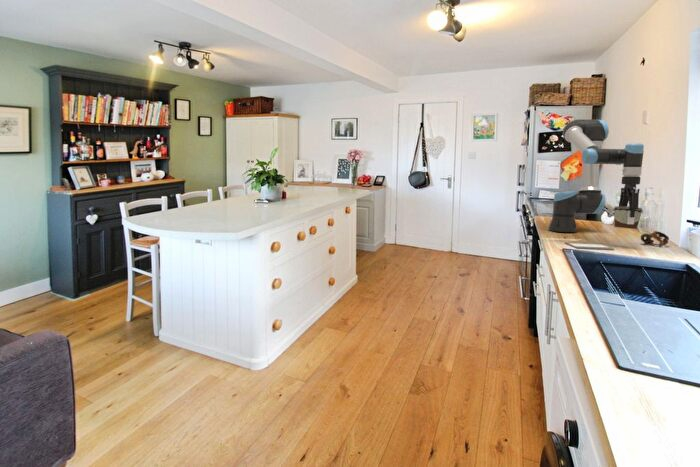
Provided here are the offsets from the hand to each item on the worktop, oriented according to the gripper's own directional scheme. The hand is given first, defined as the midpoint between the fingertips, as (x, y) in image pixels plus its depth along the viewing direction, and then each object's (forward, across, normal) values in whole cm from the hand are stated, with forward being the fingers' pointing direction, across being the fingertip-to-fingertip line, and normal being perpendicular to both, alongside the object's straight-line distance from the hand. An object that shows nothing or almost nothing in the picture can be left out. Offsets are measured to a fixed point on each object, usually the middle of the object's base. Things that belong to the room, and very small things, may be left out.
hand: (626, 223), depth 210 cm
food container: (+2, -1, 0) cm, 2 cm away
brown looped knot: (+13, -11, +16) cm, 23 cm away
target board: (+12, +4, -18) cm, 22 cm away
